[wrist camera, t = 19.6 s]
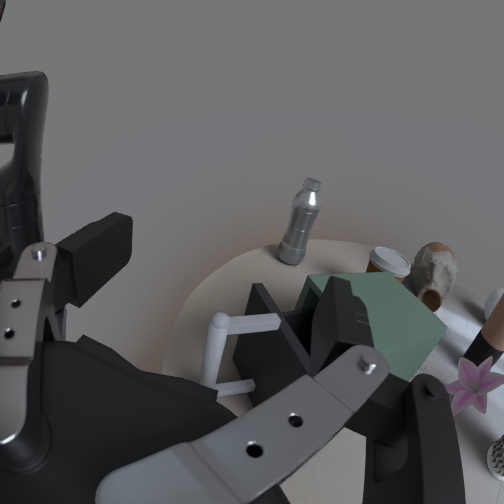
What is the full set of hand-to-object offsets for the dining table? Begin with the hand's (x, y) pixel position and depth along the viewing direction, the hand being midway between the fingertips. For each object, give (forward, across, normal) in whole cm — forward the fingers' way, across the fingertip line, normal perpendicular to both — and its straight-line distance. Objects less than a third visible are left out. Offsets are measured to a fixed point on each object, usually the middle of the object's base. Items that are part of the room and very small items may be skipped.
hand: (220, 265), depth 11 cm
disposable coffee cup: (+44, -25, +26) cm, 57 cm away
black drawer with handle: (+16, -7, +26) cm, 31 cm away
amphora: (+58, -45, +26) cm, 78 cm away
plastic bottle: (+53, -6, +26) cm, 60 cm away
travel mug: (+29, -49, +26) cm, 63 cm away
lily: (+19, -41, +26) cm, 52 cm away
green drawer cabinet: (+22, -17, +26) cm, 38 cm away
